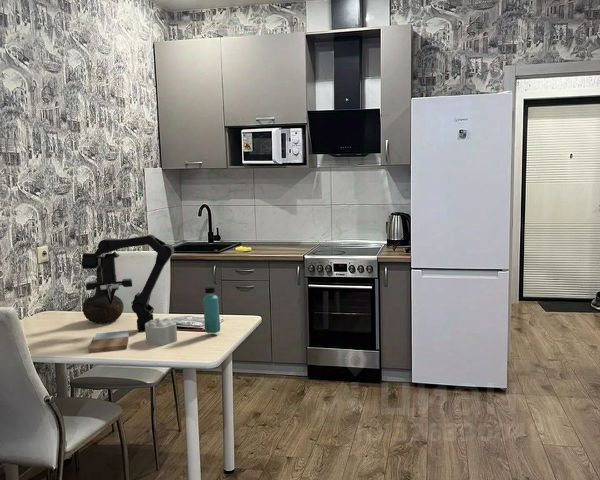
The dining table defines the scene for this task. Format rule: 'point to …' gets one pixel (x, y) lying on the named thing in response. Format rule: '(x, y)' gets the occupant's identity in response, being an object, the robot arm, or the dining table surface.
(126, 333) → the floor tile
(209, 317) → the beverage bottle
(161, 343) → the lumpy-topped squat cylinder
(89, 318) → the brown flower vase
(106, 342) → the walnut floor board
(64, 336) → the dining table surface
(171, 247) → the robot arm
